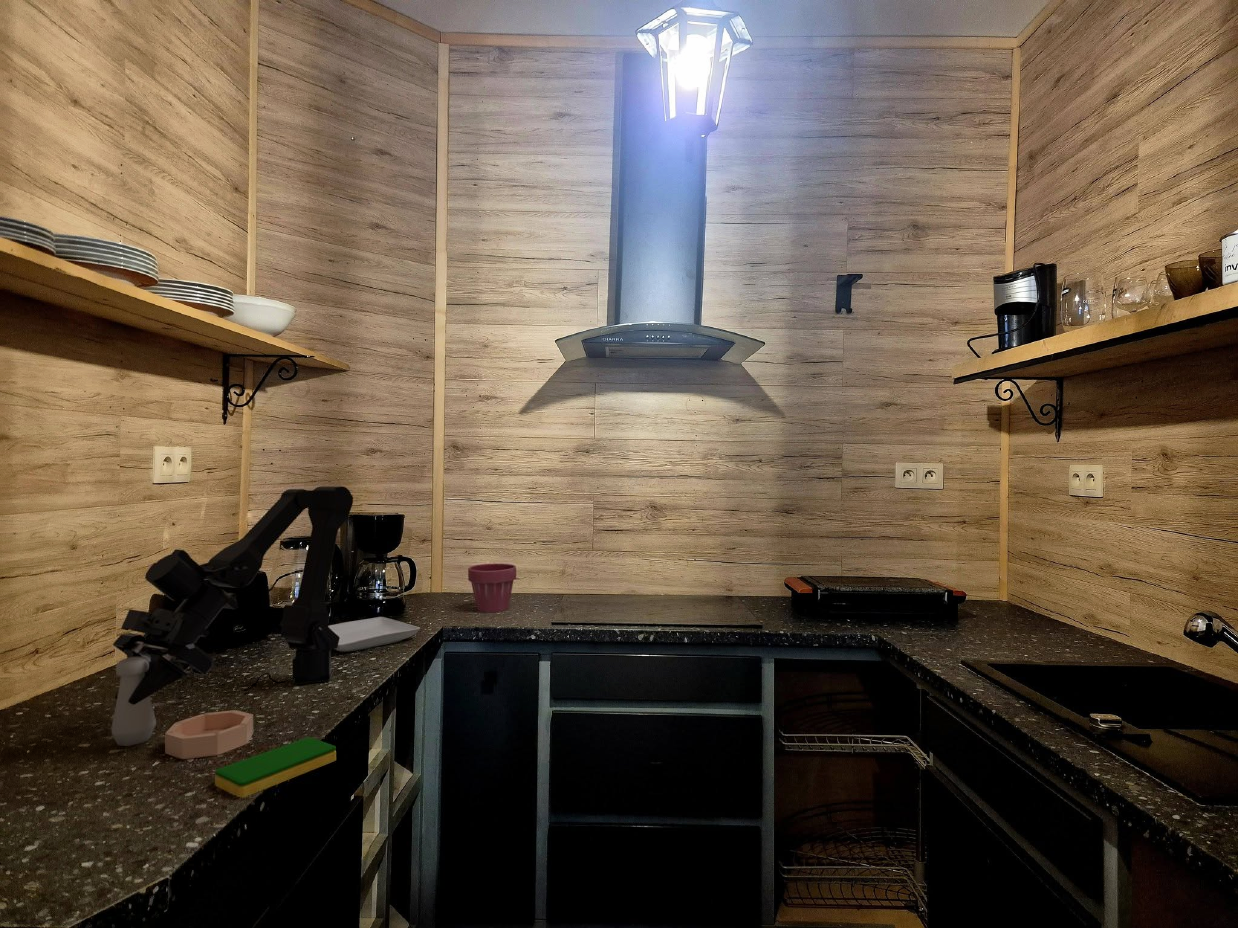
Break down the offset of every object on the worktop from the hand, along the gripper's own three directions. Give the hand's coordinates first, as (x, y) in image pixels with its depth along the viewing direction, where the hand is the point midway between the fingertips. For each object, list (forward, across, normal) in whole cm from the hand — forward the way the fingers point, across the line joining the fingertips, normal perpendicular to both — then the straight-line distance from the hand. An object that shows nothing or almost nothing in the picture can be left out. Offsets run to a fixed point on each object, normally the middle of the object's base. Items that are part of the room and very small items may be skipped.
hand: (123, 701), depth 107 cm
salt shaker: (+4, 0, +6) cm, 7 cm away
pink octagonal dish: (0, +12, +9) cm, 15 cm away
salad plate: (-39, -16, +49) cm, 64 cm away
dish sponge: (+3, +31, +8) cm, 32 cm away
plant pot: (-69, -8, +79) cm, 105 cm away
